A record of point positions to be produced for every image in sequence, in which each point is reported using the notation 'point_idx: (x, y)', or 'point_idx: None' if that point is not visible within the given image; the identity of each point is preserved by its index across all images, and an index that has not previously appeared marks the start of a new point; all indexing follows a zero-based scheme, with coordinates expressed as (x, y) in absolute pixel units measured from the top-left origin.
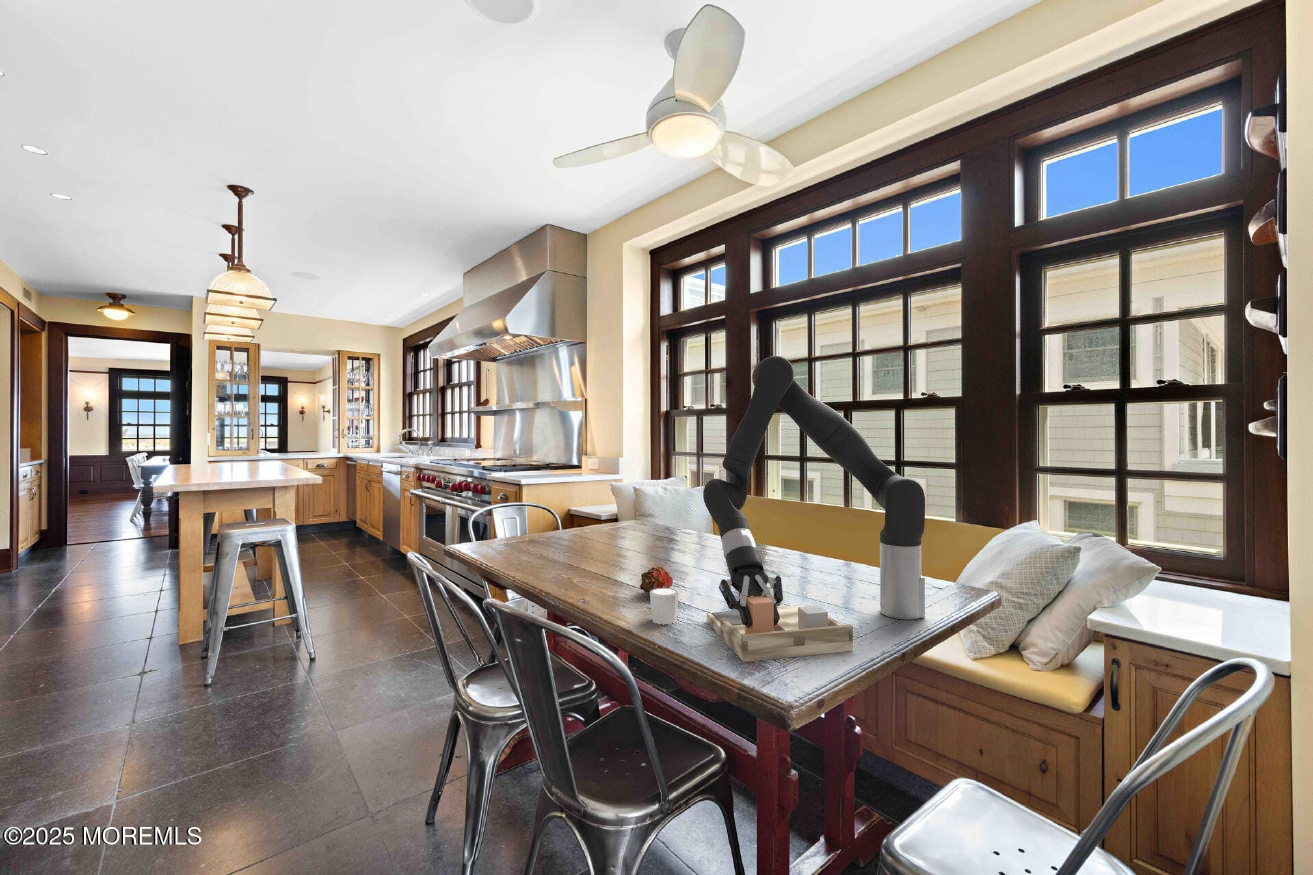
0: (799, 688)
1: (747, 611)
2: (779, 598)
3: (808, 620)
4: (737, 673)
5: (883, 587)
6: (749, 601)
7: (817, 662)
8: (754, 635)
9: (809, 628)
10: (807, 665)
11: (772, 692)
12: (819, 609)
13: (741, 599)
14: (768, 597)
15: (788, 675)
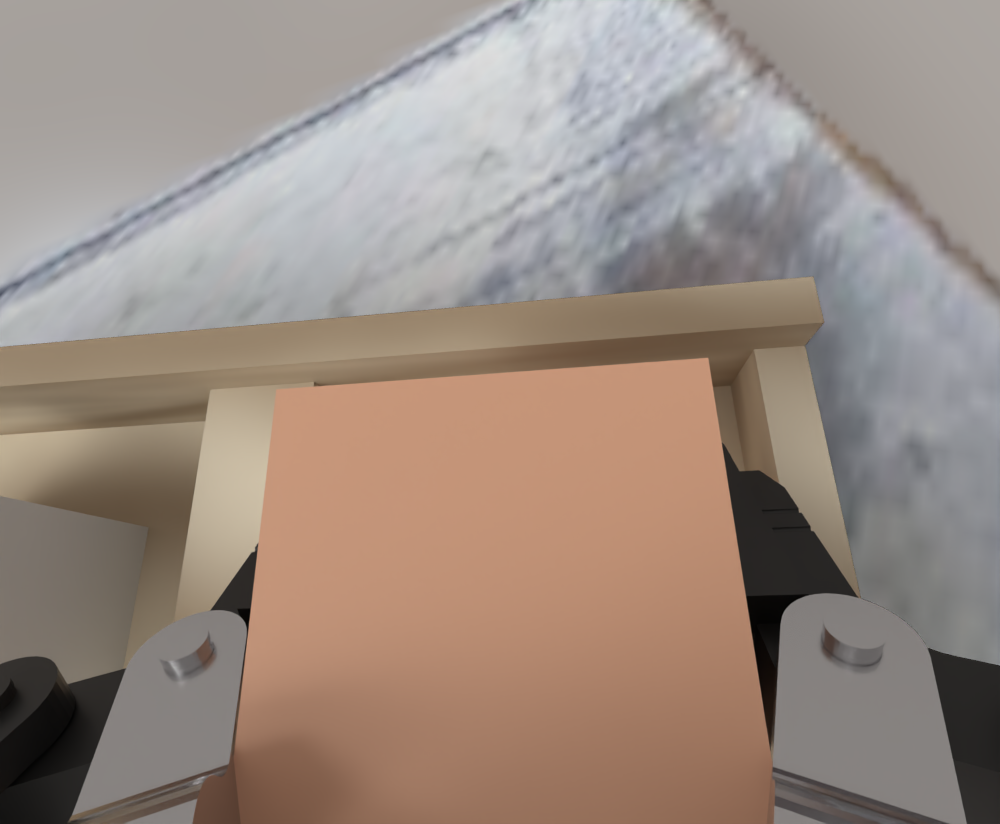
0: (529, 54)
1: (740, 533)
2: (16, 697)
3: (12, 503)
4: (821, 221)
5: None
6: (734, 542)
7: (283, 304)
8: (689, 288)
9: (123, 372)
10: (359, 274)
11: (675, 27)
12: None
13: (922, 727)
14: (210, 735)
15: (523, 174)
